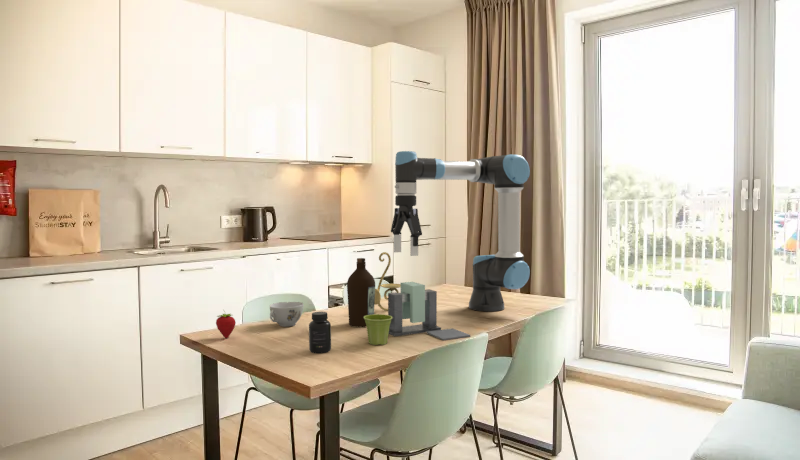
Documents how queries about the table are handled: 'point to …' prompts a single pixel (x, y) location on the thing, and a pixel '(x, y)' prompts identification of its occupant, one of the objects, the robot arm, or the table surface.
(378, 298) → the wall sconce
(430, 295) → the stand
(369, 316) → the plant pot
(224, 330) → the strawberry
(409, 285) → the mint green u-shaped block
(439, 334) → the gray rectangular panel
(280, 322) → the teacup
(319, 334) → the supplement bottle
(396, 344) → the table surface
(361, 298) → the olive oil
